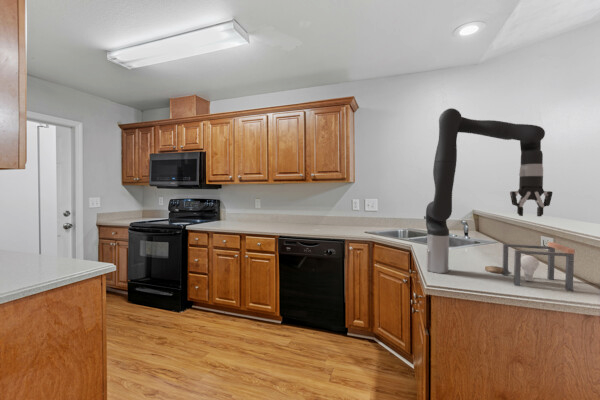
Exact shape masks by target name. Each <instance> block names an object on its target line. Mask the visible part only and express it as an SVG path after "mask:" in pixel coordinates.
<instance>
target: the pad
mask: <svg viewBox="0 0 600 400" xmlns="http://www.w3.org/2000/svg"><path fill="white" fill-rule="evenodd" d="M502 269H503V266H502V267H501V266H495V265H494V266H493V265H488V266H485V268H484V270H485V271H486V272H489V273H493V274H498V275H503V274H502Z"/></svg>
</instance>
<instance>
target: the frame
mask: <svg viewBox="0 0 600 400" xmlns="http://www.w3.org/2000/svg"><path fill="white" fill-rule="evenodd" d="M509 248H521V249H522V248H523V250H519V249H514V258H513V259H514V260H513V261H514V263H513V264H514V265H513V269H514V270H513V284H514V286H517V287H519V286H521V269H522V267H521V257H522V254H523V255H537V256H538V255H539V256H541V255H542V256H547V280H550V281H552V280H553V281H554V280H555V257H565V279H564V280H565V283H564V284H565V286H564V289H565V290H566V291H570V292H574V262H575V259H574V258H575V254H569V253H565V252H556V251H555V250H556V249H555V248H552V247H550V246H548V245H535V244H533V245H531V244H530V245H529V244H517V243H516V244H513V243H503V244H502V268H503V269H502V274H501V275H502V276H509ZM524 249H540V250H541V249H542V250H547V251H540V250H539V251H538V250H537V251H535V250H524Z"/></svg>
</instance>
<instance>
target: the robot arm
mask: <svg viewBox="0 0 600 400" xmlns="http://www.w3.org/2000/svg"><path fill="white" fill-rule="evenodd" d="M438 127H439V128H438V142H437V146H436V151H435V155H434V162H433V170H432V172H433V173H432V174H433V176H432V177H433V182H434V197H433V201H430V202H429V203H428V204H427V205H426V209H425V226H426V230H427V231H426V232H427V233H426V236H427V237H426V238H427V239H426V246H427V247H426V271H427V272H431V273H438V274H447V273H449V269H450V268H449V265H450V263H449V257H450V256H449V255H450V253H449V252H450V229H449V228H448V224H447V220H448V219H450V217H451V216H452V212H453V189H454V188H453V187H454V182H455V175H456V167H457V162H458V161H457V156H458V155H457V154H458V151H457V150H458V145H457V141H458V139H457V138H458V133H463V134H464V133H466V134H474V135H480V136H484V137H490V138H494V139H500V140H507V141H509V140H510V141H511V140H513V141H519V145H520V147H519V148H520V166H519V174H518V176H519V183H518V185H519V186H518V187H519V188H518V190H516V191H513V190H512V191H510V192H509V195H510V200H511V205H512V206H516V207H517V211H516V212H517V213H516V214H517V215H518V216H520V217H523V215H524V207H523V206H524V204H525V203H526V202H527V201H534V202H535V203H536V205H537V208H536V217H539V218H540V217H542V216H543V215H544V208H545V207H549V206H550V205H551V200H552V198H553V197H552V196H553V191H549V190H544V188H543V186H544V167H543V162H544V161H543V157H544V156H543V151H542V150H541V147H542V145H541V143H542V140H543V139H544V137H545V135H546V131H545V130H544V129H545V128H543V127H542V126H539V125H536V124H528V123H527V124H526V123H512V122H507V121H499V120H494V119H493V120H490V119H489V120H485V119H484V120H481V119H479V120H477V119H470V118H468V117H467V118H466V117H463V116H462V113H461V112H460V111H459V110H458V109H456V108H452V107H450V108H448V109H445V110H444V111H443V112H442V113H441V114H440V115H439V118H438ZM518 195H519V196H520V198H519V200H517V199H518V198H517V197H518ZM542 195H543V196H544V200H543V199H542Z"/></svg>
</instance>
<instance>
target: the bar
mask: <svg viewBox="0 0 600 400" xmlns="http://www.w3.org/2000/svg"><path fill="white" fill-rule="evenodd" d="M547 246H550V247H552V248H555V250H557V251H560V252H562V253H569V254H574V255H575V252H576V251H575V249H574V248H571V247H568V246H565V245H562V244H559V243H557V242H552V241H548V242H547Z"/></svg>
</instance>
